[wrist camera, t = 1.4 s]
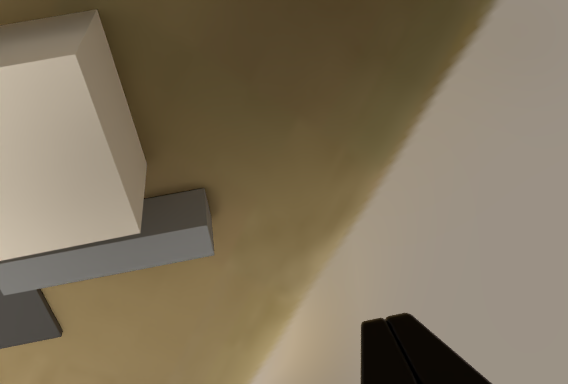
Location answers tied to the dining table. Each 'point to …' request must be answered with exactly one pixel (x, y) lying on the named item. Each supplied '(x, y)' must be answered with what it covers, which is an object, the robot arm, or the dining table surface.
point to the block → (64, 138)
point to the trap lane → (101, 263)
